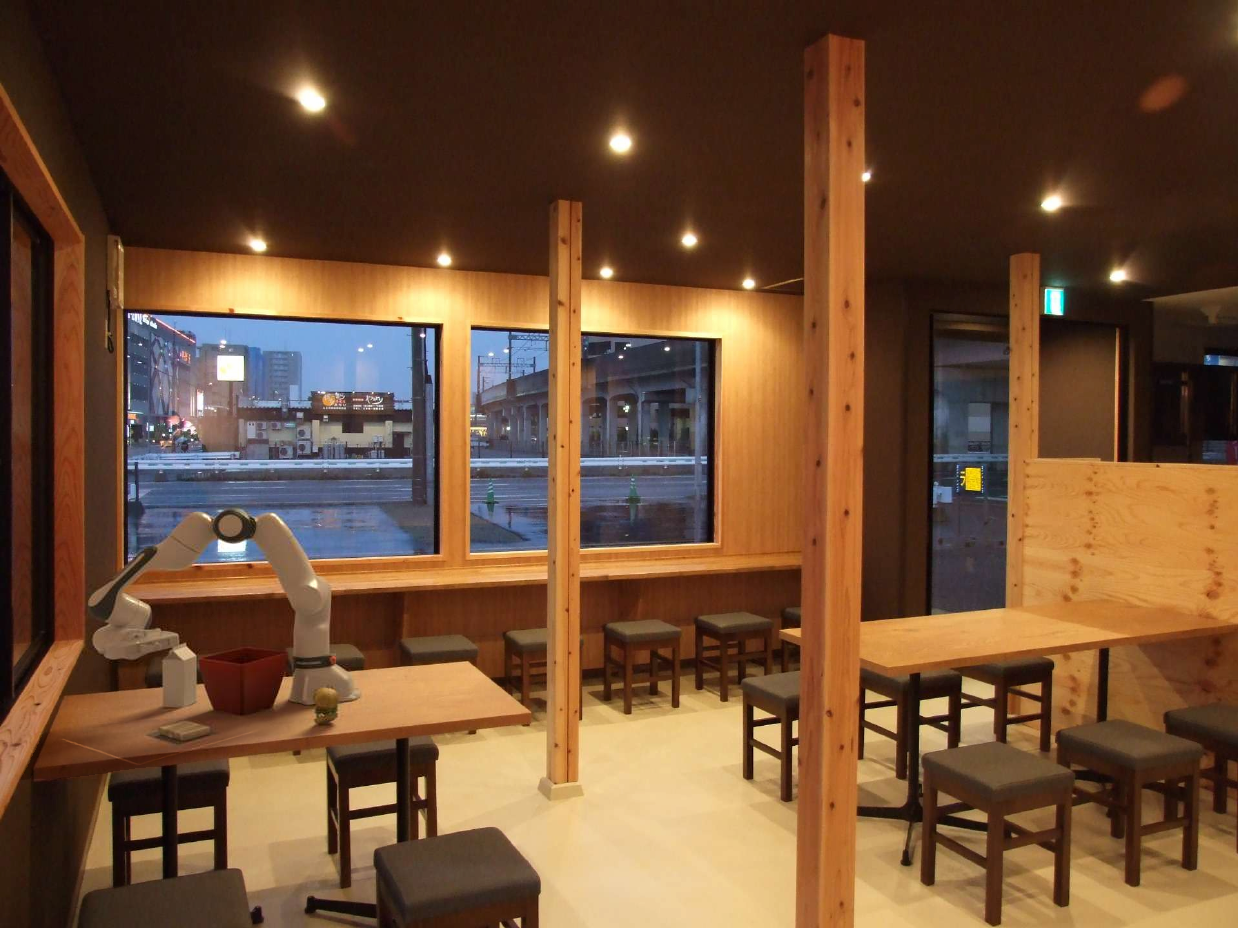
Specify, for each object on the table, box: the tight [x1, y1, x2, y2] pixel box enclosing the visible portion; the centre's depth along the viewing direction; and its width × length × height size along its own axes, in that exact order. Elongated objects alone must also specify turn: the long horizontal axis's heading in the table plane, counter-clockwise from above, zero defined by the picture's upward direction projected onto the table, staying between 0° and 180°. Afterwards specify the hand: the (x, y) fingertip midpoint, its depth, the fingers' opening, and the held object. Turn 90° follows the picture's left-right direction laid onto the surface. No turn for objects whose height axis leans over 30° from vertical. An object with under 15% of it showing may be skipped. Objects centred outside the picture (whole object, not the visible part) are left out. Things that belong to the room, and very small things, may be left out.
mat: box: [146, 730, 219, 745], centre depth 258 cm, size 16×12×1 cm
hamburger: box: [313, 685, 340, 725], centre depth 267 cm, size 8×7×12 cm
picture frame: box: [158, 720, 211, 741], centre depth 257 cm, size 2×8×12 cm
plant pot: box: [198, 646, 289, 716], centre depth 285 cm, size 19×19×17 cm
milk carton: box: [162, 642, 198, 709], centre depth 289 cm, size 7×7×19 cm
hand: (156, 648), depth 265 cm, fingers closed
